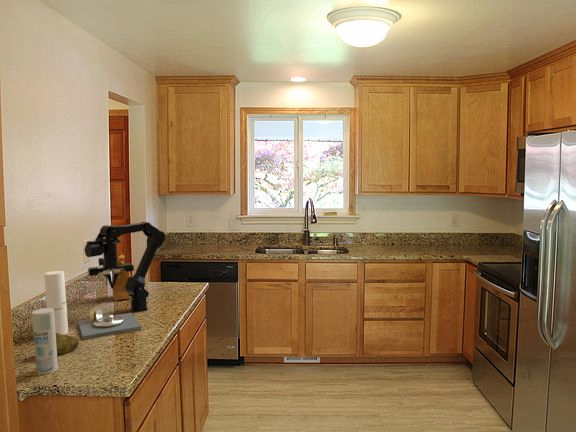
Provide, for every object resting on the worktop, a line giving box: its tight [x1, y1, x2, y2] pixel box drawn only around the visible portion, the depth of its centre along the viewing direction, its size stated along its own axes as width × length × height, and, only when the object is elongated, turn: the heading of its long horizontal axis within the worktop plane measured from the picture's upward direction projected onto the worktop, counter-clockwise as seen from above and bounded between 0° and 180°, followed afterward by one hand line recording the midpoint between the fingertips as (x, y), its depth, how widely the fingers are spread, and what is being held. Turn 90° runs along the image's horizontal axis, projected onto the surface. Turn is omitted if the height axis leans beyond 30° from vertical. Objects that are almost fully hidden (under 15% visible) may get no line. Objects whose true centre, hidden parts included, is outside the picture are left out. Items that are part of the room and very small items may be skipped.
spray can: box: [31, 307, 59, 375], centre depth 157 cm, size 6×6×20 cm
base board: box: [77, 311, 142, 341], centre depth 200 cm, size 22×22×6 cm
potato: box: [55, 332, 79, 355], centre depth 173 cm, size 8×13×8 cm, turn 104°
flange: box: [89, 307, 124, 327], centre depth 200 cm, size 12×15×4 cm
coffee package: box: [112, 253, 132, 302], centre depth 246 cm, size 10×12×22 cm
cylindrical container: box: [43, 270, 69, 335], centre depth 193 cm, size 7×7×25 cm
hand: (112, 288), depth 214 cm, fingers closed
